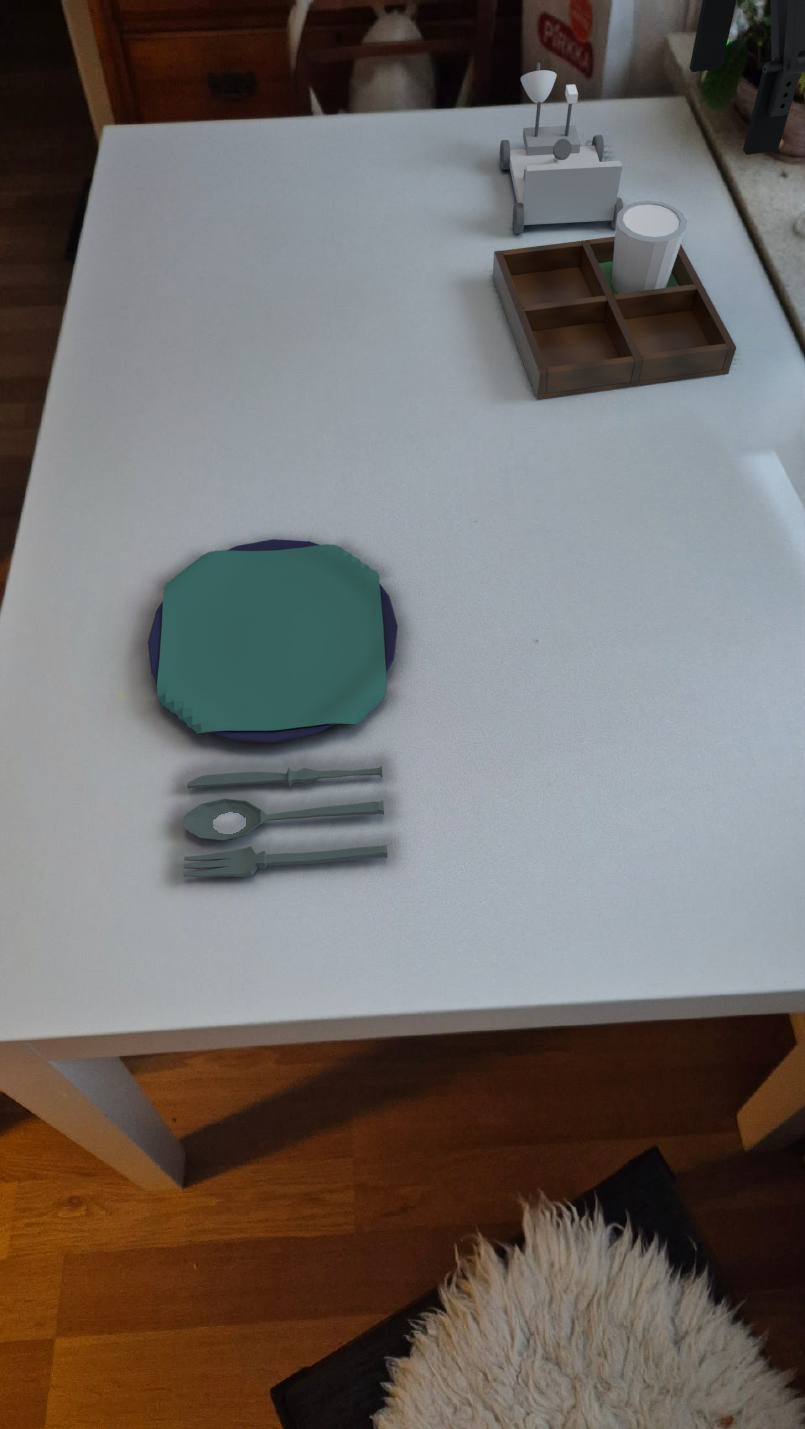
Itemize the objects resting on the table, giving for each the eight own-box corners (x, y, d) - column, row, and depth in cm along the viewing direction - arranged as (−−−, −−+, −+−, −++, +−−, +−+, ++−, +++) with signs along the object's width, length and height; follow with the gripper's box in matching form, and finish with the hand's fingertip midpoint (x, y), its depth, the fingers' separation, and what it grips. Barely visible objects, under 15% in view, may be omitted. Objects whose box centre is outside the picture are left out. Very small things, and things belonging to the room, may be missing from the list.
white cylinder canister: (593, 272, 106) (604, 208, 100) (652, 257, 107) (665, 193, 101) (624, 311, 102) (637, 247, 96) (684, 295, 103) (700, 231, 97)
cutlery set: (390, 546, 87) (390, 528, 85) (416, 868, 71) (416, 855, 70) (160, 560, 87) (154, 542, 85) (134, 887, 71) (126, 875, 69)
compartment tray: (667, 256, 108) (673, 229, 106) (728, 374, 98) (736, 347, 96) (492, 278, 107) (494, 251, 104) (536, 400, 97) (539, 373, 94)
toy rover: (502, 59, 111) (606, 54, 112) (496, 148, 120) (593, 143, 120) (522, 149, 102) (636, 143, 102) (515, 239, 110) (620, 233, 110)
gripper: (695, -274, 74) (645, 43, 92) (829, -146, 61) (740, 195, 79) (793, -284, 75) (724, 33, 92) (947, -159, 61) (832, 183, 79)
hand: (731, 108), depth 86 cm, fingers open, 13 cm apart
